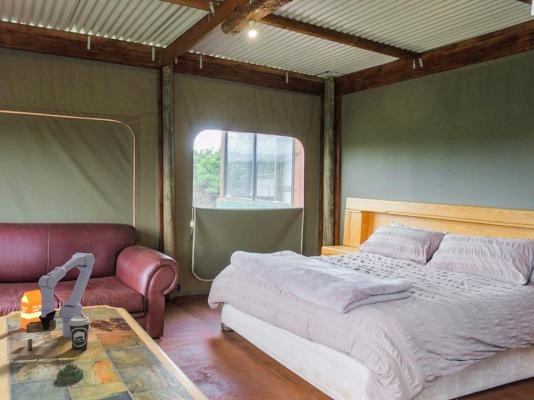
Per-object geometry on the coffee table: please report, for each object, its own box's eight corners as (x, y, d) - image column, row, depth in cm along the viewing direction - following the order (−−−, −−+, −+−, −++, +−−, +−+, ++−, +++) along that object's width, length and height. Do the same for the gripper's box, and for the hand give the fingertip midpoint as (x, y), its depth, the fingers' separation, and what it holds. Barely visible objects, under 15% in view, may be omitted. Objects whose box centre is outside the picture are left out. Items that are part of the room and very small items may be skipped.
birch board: (58, 341, 237) (58, 339, 237) (46, 356, 217) (46, 354, 217) (31, 343, 235) (31, 341, 235) (16, 357, 215) (16, 355, 215)
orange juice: (44, 325, 263) (43, 290, 262) (28, 329, 256) (28, 293, 255) (36, 323, 267) (35, 288, 266) (20, 327, 260) (20, 291, 259)
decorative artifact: (56, 376, 196) (56, 385, 187) (56, 359, 196) (56, 368, 186) (82, 372, 200) (83, 381, 191) (82, 356, 200) (83, 364, 190)
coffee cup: (94, 347, 229) (94, 317, 228) (79, 354, 220) (78, 322, 219) (80, 344, 233) (79, 314, 232) (64, 351, 224) (64, 320, 224)
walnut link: (56, 327, 235) (55, 319, 234) (53, 330, 229) (52, 322, 229) (30, 329, 233) (29, 321, 232) (26, 333, 227) (26, 325, 227)
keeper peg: (32, 349, 223) (32, 338, 223) (31, 351, 221) (31, 339, 221) (28, 350, 223) (28, 338, 222) (27, 351, 221) (27, 339, 221)
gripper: (43, 296, 237) (43, 323, 238) (34, 304, 223) (34, 332, 224) (58, 296, 238) (58, 322, 239) (49, 303, 224) (50, 332, 225)
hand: (48, 327), depth 231 cm, fingers closed on walnut link, 5 cm apart
